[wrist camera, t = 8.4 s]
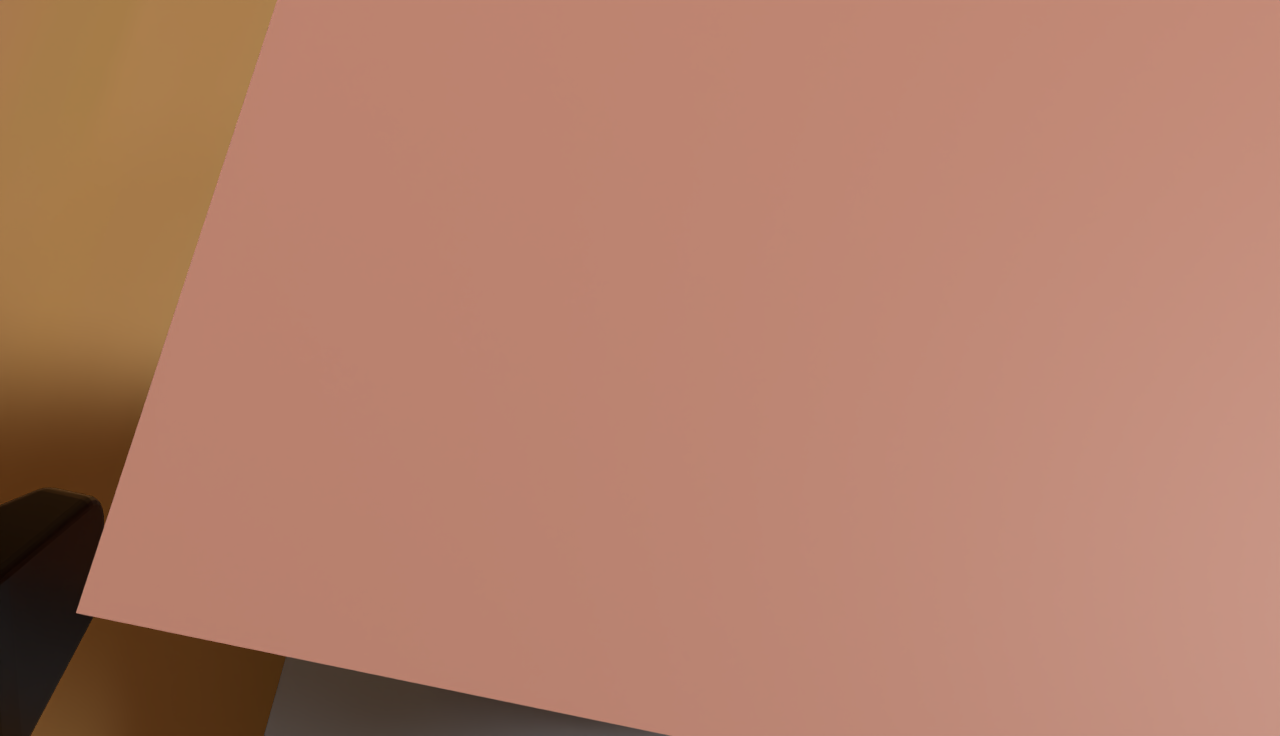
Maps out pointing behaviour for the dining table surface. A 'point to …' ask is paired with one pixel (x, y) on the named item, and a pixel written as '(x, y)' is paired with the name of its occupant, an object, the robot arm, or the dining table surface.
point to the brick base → (407, 709)
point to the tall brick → (738, 365)
